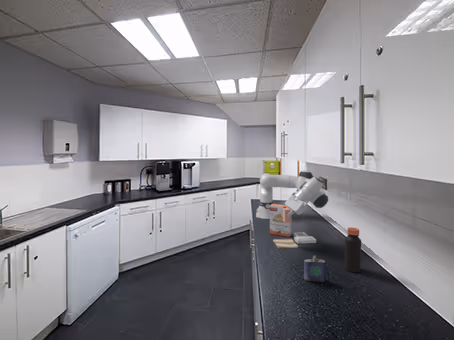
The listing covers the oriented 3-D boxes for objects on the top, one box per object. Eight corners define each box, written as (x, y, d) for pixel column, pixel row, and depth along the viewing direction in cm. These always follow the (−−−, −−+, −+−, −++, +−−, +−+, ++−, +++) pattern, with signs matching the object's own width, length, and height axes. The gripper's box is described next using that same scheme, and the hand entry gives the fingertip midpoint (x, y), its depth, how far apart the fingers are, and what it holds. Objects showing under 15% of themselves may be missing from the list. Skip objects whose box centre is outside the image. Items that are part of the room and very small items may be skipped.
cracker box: (269, 234, 154) (269, 205, 153) (271, 231, 159) (271, 203, 158) (289, 237, 148) (289, 207, 146) (291, 234, 153) (291, 205, 151)
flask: (304, 281, 97) (304, 257, 97) (303, 277, 100) (303, 254, 99) (326, 282, 96) (326, 258, 95) (324, 278, 99) (324, 255, 98)
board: (273, 240, 143) (273, 239, 142) (291, 240, 143) (291, 238, 143) (278, 248, 131) (278, 247, 131) (298, 247, 131) (298, 246, 131)
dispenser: (290, 235, 151) (290, 232, 151) (307, 235, 152) (307, 231, 151) (297, 243, 137) (297, 240, 137) (316, 242, 138) (316, 239, 138)
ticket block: (282, 220, 137) (282, 208, 137) (289, 220, 137) (289, 208, 137) (285, 222, 133) (284, 209, 133) (291, 222, 133) (291, 209, 133)
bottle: (353, 265, 110) (354, 226, 108) (364, 272, 103) (365, 231, 102) (341, 266, 109) (342, 227, 108) (351, 273, 102) (351, 232, 101)
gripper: (312, 205, 125) (295, 223, 125) (298, 198, 145) (284, 213, 145) (304, 198, 124) (288, 216, 124) (292, 192, 144) (277, 207, 145)
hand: (285, 214), depth 135 cm, fingers closed on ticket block, 4 cm apart
